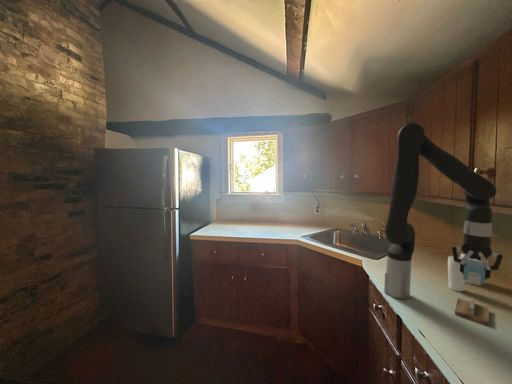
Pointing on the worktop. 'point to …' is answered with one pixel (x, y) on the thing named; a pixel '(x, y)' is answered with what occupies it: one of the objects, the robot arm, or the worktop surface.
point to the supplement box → (473, 275)
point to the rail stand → (472, 311)
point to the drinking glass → (455, 275)
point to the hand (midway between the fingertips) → (474, 275)
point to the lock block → (474, 269)
